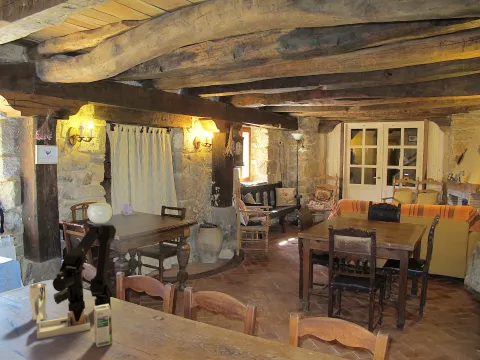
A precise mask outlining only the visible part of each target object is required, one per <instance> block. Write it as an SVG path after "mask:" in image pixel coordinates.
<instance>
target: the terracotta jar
mask: <svg viewBox="0 0 480 360" xmlns="http://www.w3.org/2000/svg"><path fill="white" fill-rule="evenodd" d="M69 313H70V322H71V325H72V326H75V325H81V324H84V322H85V321H84V315H85V309H83V312H82V314H81V317H80V319H79V321H78V322H76V320H75V317H74V314H73V311H69Z"/></svg>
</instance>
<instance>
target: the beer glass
mask: <svg viewBox="0 0 480 360" xmlns="http://www.w3.org/2000/svg"><path fill="white" fill-rule="evenodd" d="M47 301H48V289H47V284H46V283H44V282H39V283H34V284H31V285H30V286H29V302H30V305H31V309H32V317H31V320H32V321H33V322H37V316H38V315H40V318H41V321H46V319H48V314H47Z"/></svg>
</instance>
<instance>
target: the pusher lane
mask: <svg viewBox="0 0 480 360" xmlns="http://www.w3.org/2000/svg"><path fill="white" fill-rule="evenodd" d="M89 315H90V314H89V313H87V314H84V321H85V322H84V324H81V325H75V326H72V325H71V326H69V327H68V316H67V317H62V318H56V319H55V318H54V319H49V320H42V321H41V318H40V315H38V316H37V321H36V338H37V340H38V339H39V340H40V339H45V338H50V337H56V336H57V337H58V336H63V335H69V334H75V333H79V332H86V331H91V321H90V316H89ZM64 320H67V323H60V321H64Z"/></svg>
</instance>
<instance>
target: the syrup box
mask: <svg viewBox="0 0 480 360" xmlns="http://www.w3.org/2000/svg"><path fill="white" fill-rule="evenodd" d="M92 310H93V324H94V326H93V327H94V342H95V344H96V347H97V348H100V347H104V346H109V345H113V330H112V326H113V325H112V307H111V308H110V306H109V304H105V305H99V306H95V305H93V309H92Z"/></svg>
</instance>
